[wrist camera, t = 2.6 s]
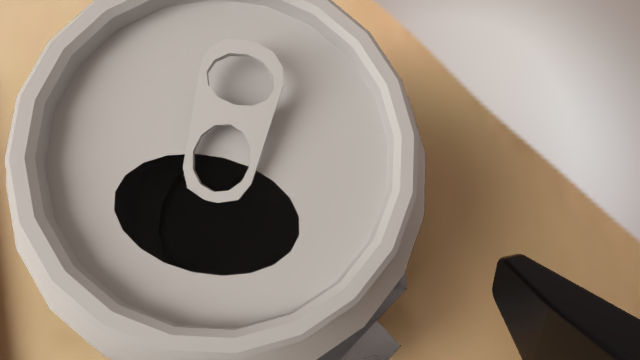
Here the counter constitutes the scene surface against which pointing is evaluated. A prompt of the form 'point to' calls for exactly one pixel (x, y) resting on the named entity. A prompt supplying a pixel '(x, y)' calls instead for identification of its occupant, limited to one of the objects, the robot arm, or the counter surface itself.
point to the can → (214, 178)
